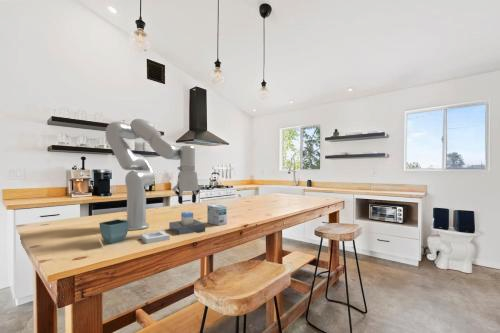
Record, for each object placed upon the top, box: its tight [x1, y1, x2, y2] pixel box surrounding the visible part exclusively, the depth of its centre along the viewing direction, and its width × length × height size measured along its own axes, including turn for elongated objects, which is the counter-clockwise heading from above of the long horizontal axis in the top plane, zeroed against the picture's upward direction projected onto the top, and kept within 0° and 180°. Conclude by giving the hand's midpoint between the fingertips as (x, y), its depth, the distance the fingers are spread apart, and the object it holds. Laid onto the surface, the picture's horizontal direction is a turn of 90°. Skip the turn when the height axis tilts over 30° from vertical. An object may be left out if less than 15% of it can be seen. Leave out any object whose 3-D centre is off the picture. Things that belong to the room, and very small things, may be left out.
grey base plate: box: [140, 230, 171, 245], centre depth 112 cm, size 10×10×2 cm
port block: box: [168, 218, 206, 236], centre depth 129 cm, size 14×14×4 cm
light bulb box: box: [206, 203, 228, 226], centre depth 146 cm, size 11×7×11 cm, turn 49°
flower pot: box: [98, 219, 129, 245], centre depth 108 cm, size 9×9×9 cm
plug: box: [180, 211, 194, 225], centre depth 128 cm, size 5×5×9 cm
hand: (187, 202), depth 129 cm, fingers open, 6 cm apart
